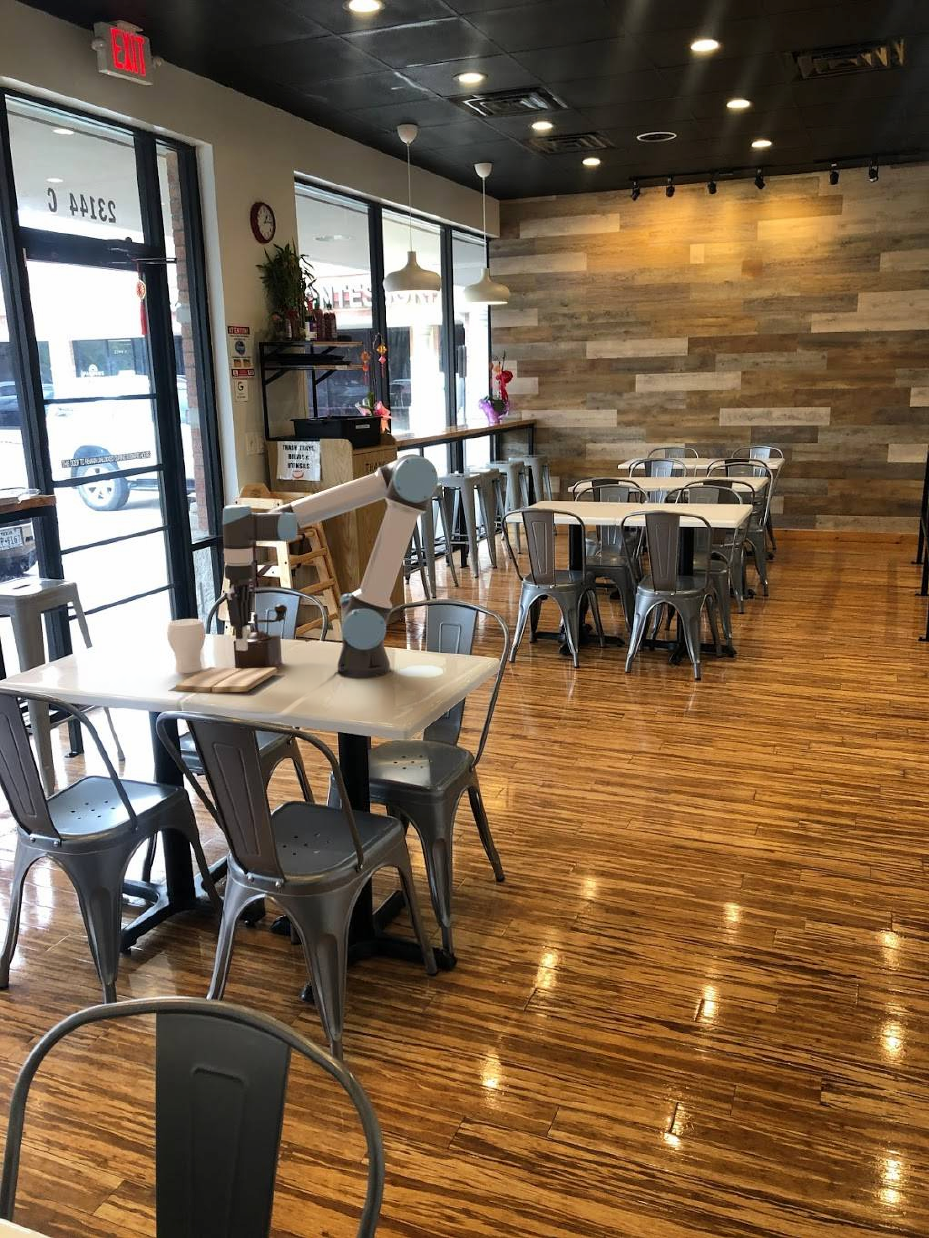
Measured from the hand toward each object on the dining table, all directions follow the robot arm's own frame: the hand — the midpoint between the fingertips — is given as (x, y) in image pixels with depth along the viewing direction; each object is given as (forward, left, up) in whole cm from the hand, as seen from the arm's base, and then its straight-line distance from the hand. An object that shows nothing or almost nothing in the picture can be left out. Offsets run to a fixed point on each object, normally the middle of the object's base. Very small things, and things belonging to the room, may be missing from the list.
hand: (241, 649), depth 284 cm
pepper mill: (+5, -24, -11) cm, 27 cm away
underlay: (+6, -2, -11) cm, 13 cm away
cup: (+24, -14, -11) cm, 30 cm away
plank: (0, -2, -10) cm, 10 cm away
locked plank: (+11, -2, -10) cm, 15 cm away
